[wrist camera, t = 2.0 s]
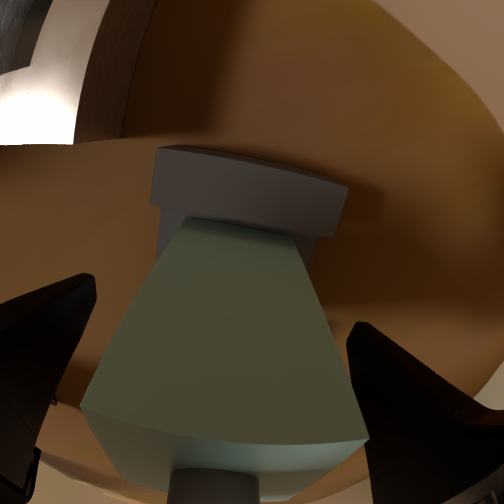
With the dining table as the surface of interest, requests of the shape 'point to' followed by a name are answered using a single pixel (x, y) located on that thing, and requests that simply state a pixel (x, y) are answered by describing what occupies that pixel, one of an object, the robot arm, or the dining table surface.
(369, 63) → the dining table surface
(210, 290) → the plug
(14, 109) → the port
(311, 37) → the dining table surface
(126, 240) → the dining table surface
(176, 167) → the dark grey bracket
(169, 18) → the dining table surface
